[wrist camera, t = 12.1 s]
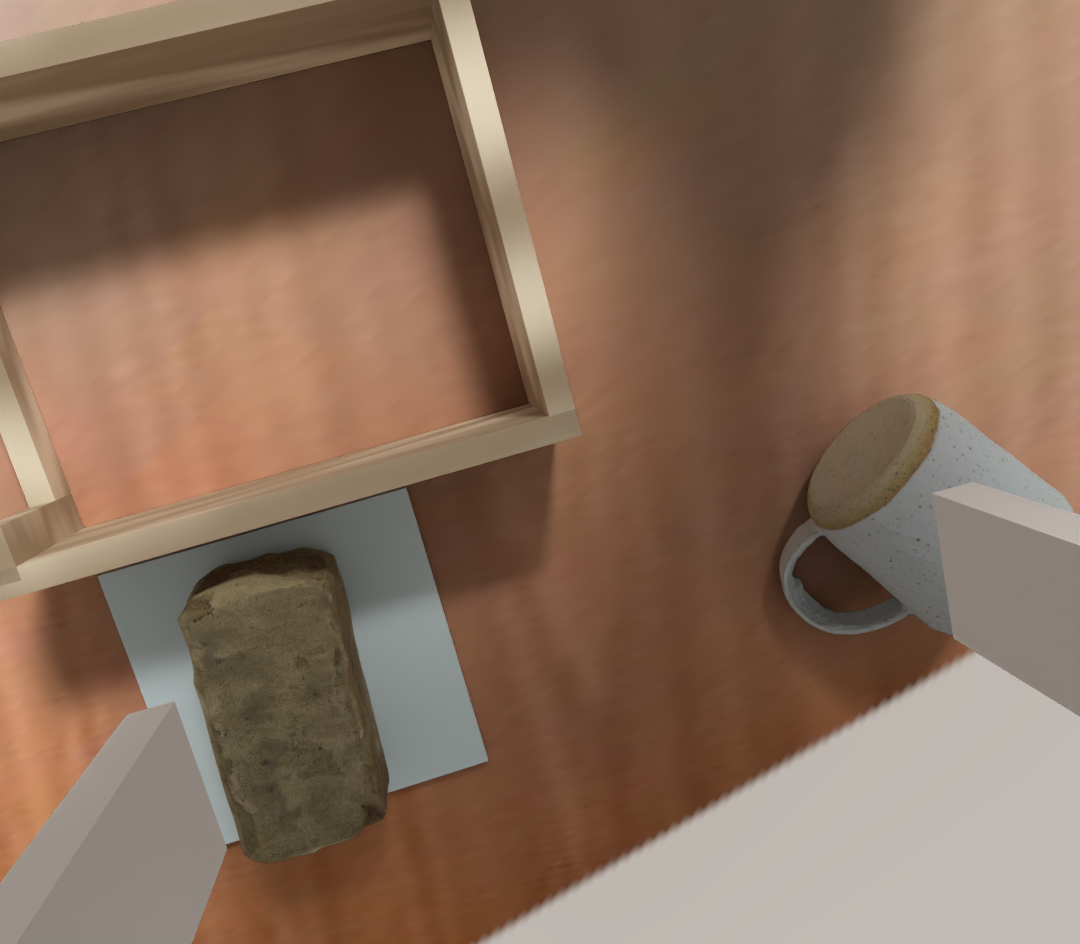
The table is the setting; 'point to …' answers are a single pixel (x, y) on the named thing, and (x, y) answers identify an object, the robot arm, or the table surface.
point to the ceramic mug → (898, 507)
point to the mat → (378, 623)
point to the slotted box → (217, 63)
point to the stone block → (286, 703)
